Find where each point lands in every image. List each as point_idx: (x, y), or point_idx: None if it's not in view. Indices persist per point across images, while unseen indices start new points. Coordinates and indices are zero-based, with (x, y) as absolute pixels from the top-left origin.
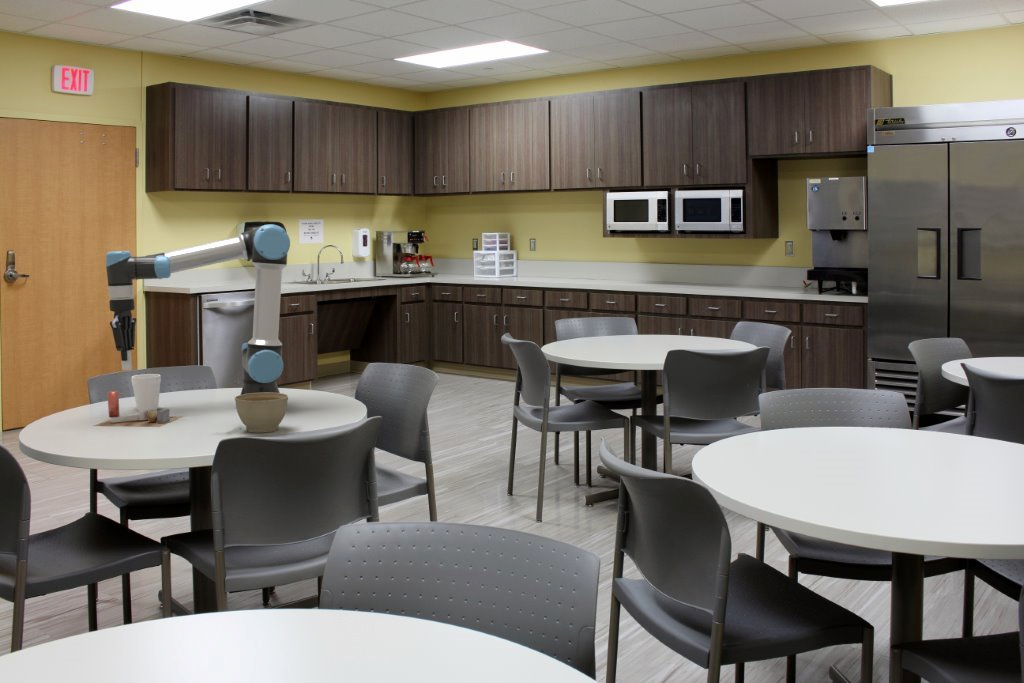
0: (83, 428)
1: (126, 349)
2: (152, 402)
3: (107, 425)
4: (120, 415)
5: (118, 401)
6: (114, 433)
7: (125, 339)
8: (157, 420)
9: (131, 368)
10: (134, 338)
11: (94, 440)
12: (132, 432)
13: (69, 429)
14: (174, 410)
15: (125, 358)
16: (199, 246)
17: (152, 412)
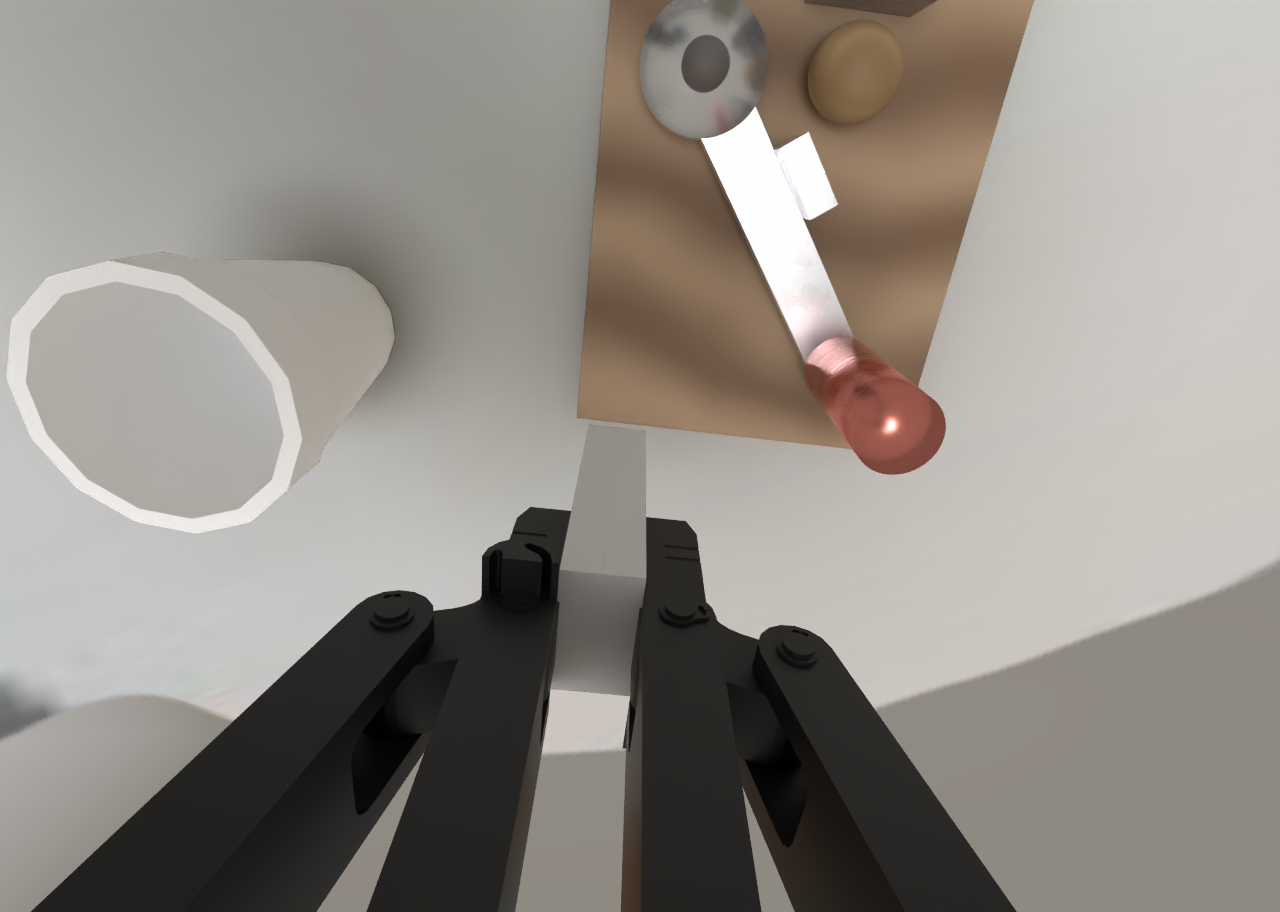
0: (812, 515)
1: (711, 608)
2: (335, 284)
3: (906, 371)
4: (804, 342)
5: (875, 365)
6: (1010, 281)
7: (730, 792)
8: (920, 8)
9: (603, 434)
10: (242, 724)
11: (1203, 320)
12: (1008, 169)
13: (829, 571)
14: (201, 165)
15: (694, 540)
16: None
17: (892, 60)
